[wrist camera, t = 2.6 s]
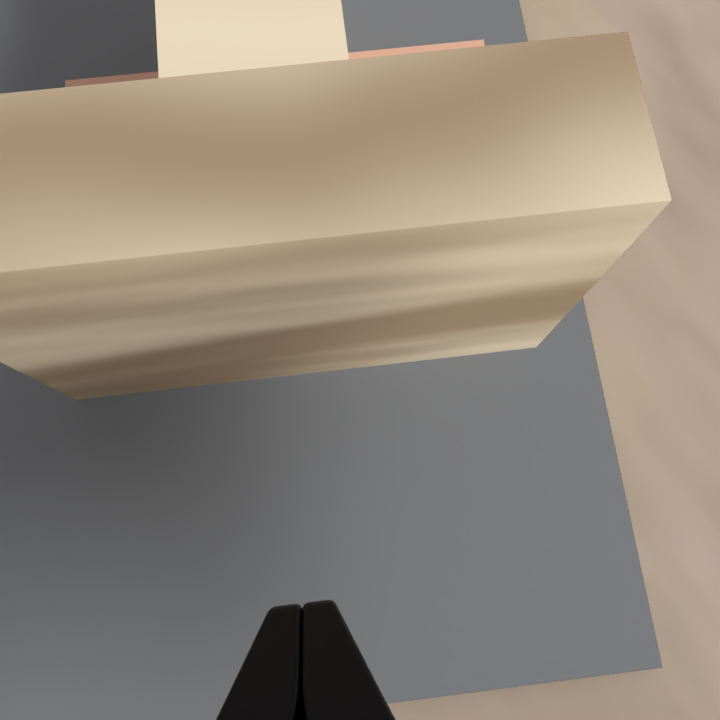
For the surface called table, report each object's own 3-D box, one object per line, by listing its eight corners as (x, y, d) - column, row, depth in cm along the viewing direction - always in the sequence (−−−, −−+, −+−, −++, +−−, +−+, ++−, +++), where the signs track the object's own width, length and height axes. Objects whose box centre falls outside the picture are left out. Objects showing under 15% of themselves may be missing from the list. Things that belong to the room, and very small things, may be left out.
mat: (655, 664, 16) (662, 667, 16) (-67, 758, 16) (-78, 764, 15) (481, -154, 23) (483, -167, 22) (-34, -108, 22) (-41, -120, 22)
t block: (535, 347, 18) (671, 200, 10) (75, 399, 17) (-148, 288, 10) (469, 1, 21) (536, -321, 13) (71, 39, 20) (-105, -270, 13)
